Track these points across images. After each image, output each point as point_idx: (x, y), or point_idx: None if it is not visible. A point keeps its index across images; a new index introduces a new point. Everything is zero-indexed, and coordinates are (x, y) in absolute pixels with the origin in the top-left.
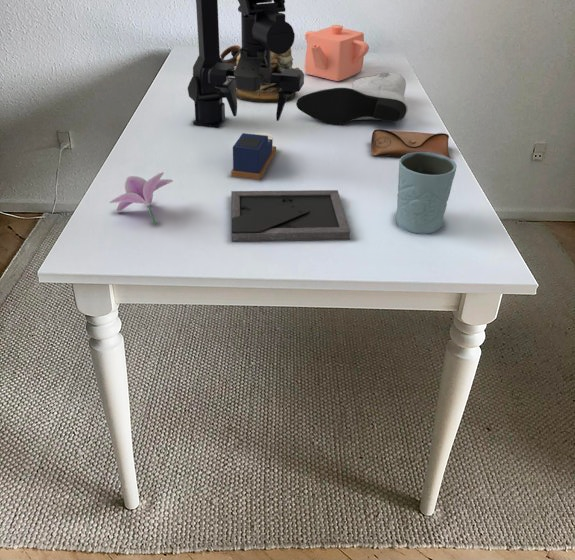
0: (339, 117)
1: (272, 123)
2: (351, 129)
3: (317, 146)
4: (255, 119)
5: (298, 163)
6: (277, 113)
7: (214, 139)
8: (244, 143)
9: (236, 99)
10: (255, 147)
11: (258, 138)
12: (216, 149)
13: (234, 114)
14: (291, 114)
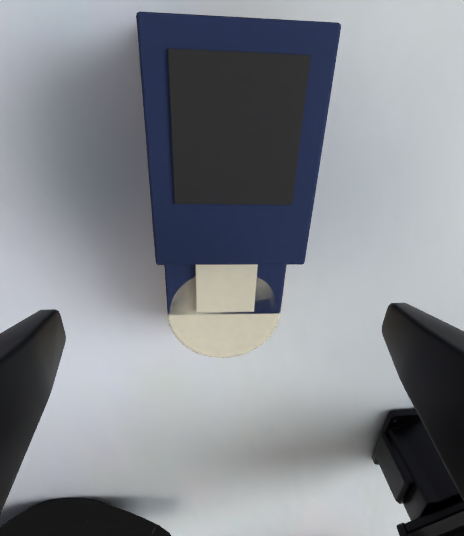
0: (38, 525)
1: (235, 466)
2: None
3: None
4: (287, 472)
5: (53, 244)
6: (9, 343)
7: None
8: (267, 102)
9: (440, 446)
10: (174, 48)
11: (198, 215)
12: (384, 277)
13: (405, 308)
14: (198, 513)
